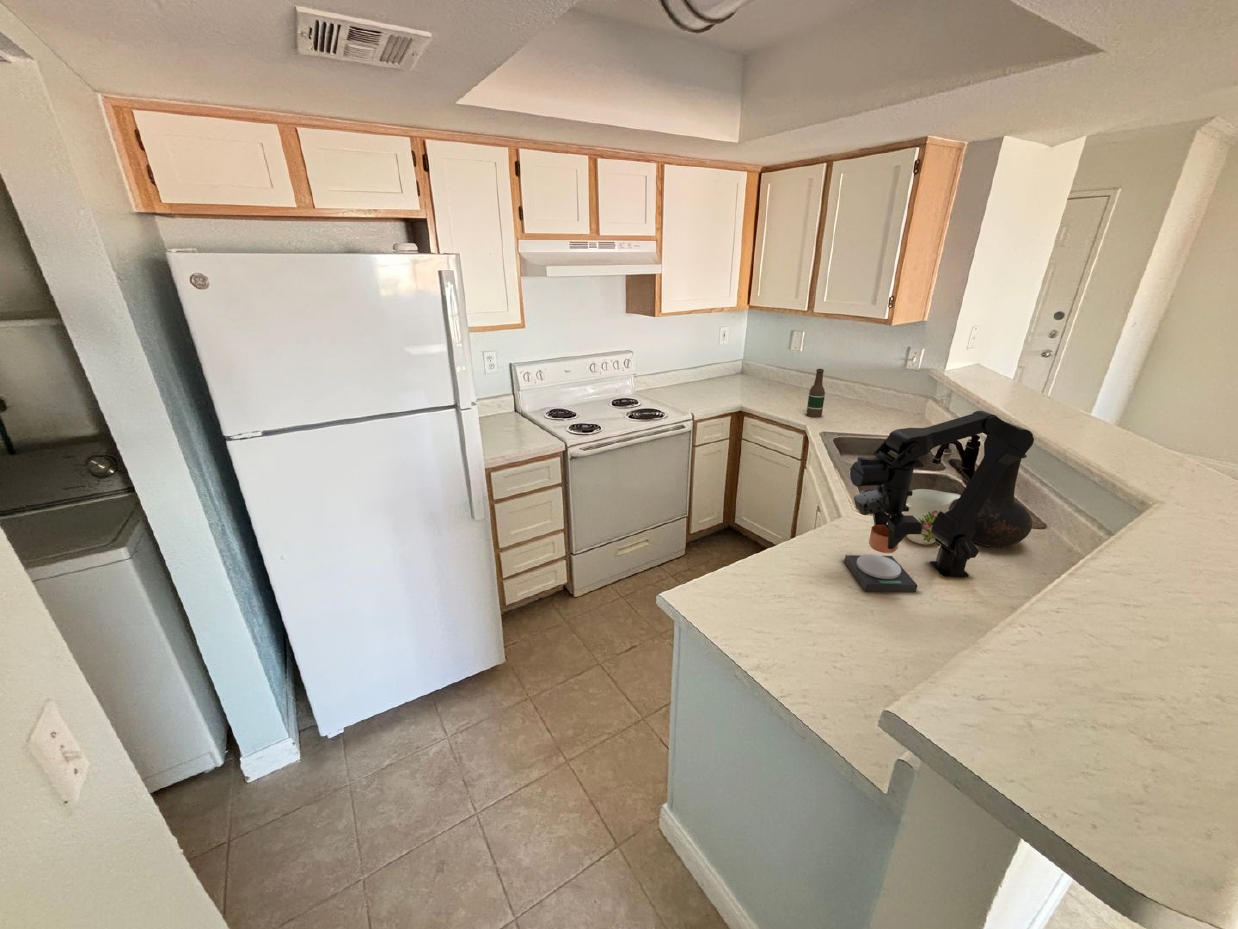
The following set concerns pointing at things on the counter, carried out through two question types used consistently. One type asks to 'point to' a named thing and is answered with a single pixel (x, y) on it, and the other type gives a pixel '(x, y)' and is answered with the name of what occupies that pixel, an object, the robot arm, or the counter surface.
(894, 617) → the counter surface
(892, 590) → the scale
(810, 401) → the beer bottle
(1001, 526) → the dark brown vase
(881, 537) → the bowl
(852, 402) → the counter surface
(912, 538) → the pitcher
